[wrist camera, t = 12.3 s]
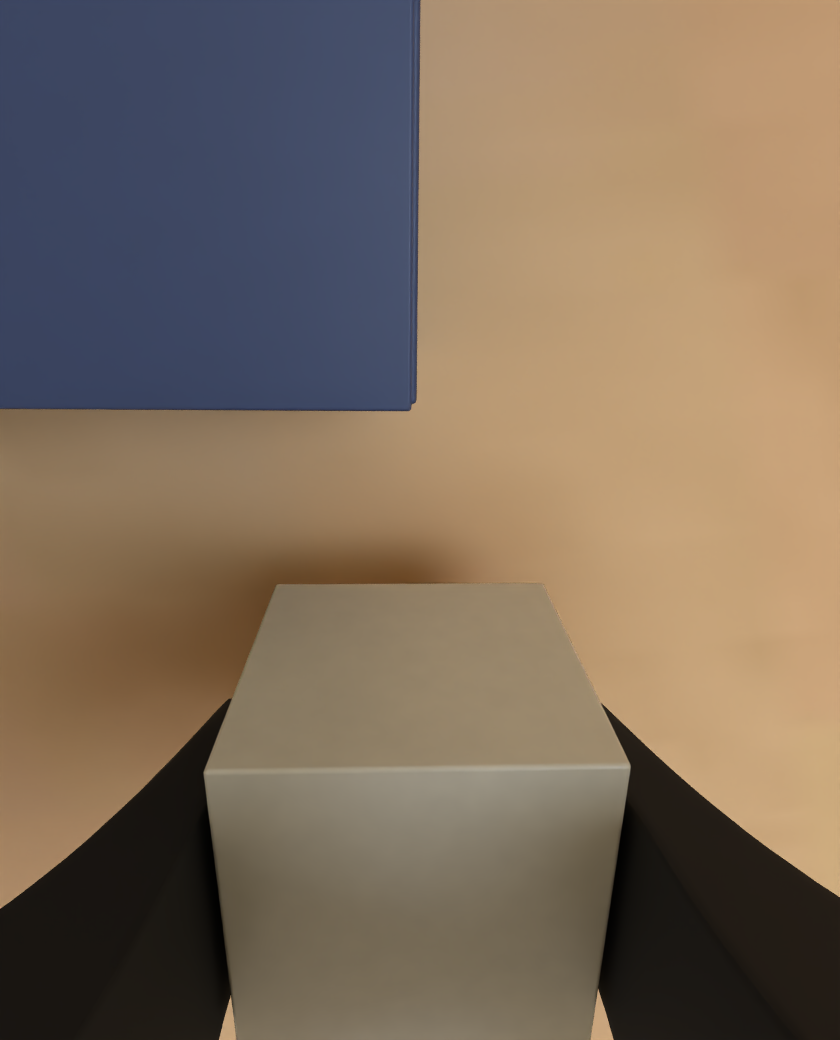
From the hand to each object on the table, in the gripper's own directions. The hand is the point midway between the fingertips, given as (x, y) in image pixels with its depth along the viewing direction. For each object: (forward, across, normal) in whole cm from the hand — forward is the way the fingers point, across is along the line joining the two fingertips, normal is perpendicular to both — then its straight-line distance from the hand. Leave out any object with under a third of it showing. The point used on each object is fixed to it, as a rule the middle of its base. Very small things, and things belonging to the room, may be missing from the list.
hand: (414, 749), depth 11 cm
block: (+1, 0, 0) cm, 1 cm away
